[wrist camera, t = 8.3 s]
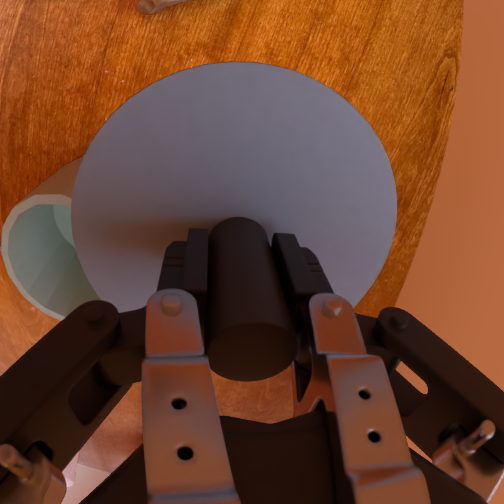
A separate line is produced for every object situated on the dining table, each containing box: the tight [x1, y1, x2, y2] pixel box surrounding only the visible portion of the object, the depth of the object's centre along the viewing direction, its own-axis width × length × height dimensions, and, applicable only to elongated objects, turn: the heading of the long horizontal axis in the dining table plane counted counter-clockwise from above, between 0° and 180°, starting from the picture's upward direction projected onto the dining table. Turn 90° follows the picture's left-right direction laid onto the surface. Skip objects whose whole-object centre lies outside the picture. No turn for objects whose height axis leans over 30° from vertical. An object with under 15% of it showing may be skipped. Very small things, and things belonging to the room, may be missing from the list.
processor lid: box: [71, 61, 397, 382], centre depth 11 cm, size 14×14×7 cm
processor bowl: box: [1, 157, 101, 321], centre depth 26 cm, size 13×13×10 cm
